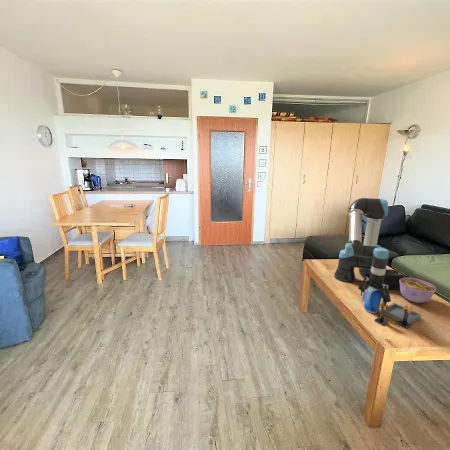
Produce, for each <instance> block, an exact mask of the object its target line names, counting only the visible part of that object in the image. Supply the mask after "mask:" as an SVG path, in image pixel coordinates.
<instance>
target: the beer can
mask: <svg viewBox="0 0 450 450" xmlns="http://www.w3.org/2000/svg"><path fill="white" fill-rule="evenodd" d="M365 291H366V294H365V300H364V303H363V308H364V310H365V311H366V312H368V313H370V314H377V313H379V312H380V308H379V307H380V304H381V302H382V297H381V295H380V292H379V291H378V289H376V288H374V287H372V286H369V287H368V288H367V289H366V290H365Z"/></svg>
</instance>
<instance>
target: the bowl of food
mask: <svg viewBox="0 0 450 450" xmlns="http://www.w3.org/2000/svg"><path fill="white" fill-rule="evenodd" d="M399 282H400V294H401V295H402V296H403V297H404V298H405V299H407V300H408V301H409V302H412V303H415V304H421V303H428V302H430V300H431V299H432V297H433V296H434V294H435V292H436V291H437V287H436V286H435V285H434V284H432V283H430V282H428V281H425V280H424V279H423V280H422V279H419V278H416V277H410V278H401V279H400V280H399Z"/></svg>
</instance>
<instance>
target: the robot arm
mask: <svg viewBox="0 0 450 450" xmlns="http://www.w3.org/2000/svg"><path fill="white" fill-rule="evenodd" d="M388 213H389V203H388V200H387V199H384V198H370V197H361V198H358V199H355V200H354V201H353V202H352V203H351V204H350V206H349V207H348V216H349V229H348V231H349V232H348V235H349V236H348V242H347V243H345V247H344V248H343V249H341V250H340V251H339V255H338V262H337V268H336V270H335V272H334V275H333V277H334V278H335V279H336V280H338V281H340V282H344V283H353V282H355V281H356V275H355V268H357V269H359V268H362V269H368V270H371V272H370V278H368V277H363V280H362V282H361V283H360V285H359V286H358V290H360V296H361V297H360V302H365V297H366V291H367V288H368V287H369V286H372V287H374V288H376V289H378V291H379V292H380V295H381V297H382V298H381V303H384V306H385V305H388V304H387V303H391V302H392V301H391V300H392V299H391V294H390V289H388V288H389V285H385V284H384V283H383V281H384V277H385V271H386V269H387V264H388V259H389V257H390V256H389V253H390V251H389V250H388V249H386V248H385V247H382V246H381V245H378V239H379V233H380V229H381V223H382V221H383V220H384V219H385V217H387V216H388ZM364 215H365V218H366V219H367V220H366V221H367V222H366V227H365V233H364V238H362V237H363V235H362V233H363V230H362V229H363V226H362V225H363V223H362V222H363V216H364ZM362 239H363V240H362ZM362 242H363V243H362ZM368 280H369V282H370V283H369V282H368ZM367 283H368V284H367ZM366 284H367V285H366ZM365 285H366V286H365ZM382 286H383V288H384V289H383V288H382ZM379 312H381V308H380V309H379Z"/></svg>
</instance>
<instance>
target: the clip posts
mask: <svg viewBox="0 0 450 450" xmlns="http://www.w3.org/2000/svg"><path fill="white" fill-rule="evenodd" d="M389 305H390V304H386V305H385V306H384V303H381V304H380V307H379V308H381V311H380V315H379V317H377V318H375V319H374V322H375V323H377V324H379V325H381V326H385V325H388V324H389V321H388V320H386V319H385V316H386V315H385V310H387V309H388V306H389ZM402 306H403V311H405V313H404V317H403V322H402V321H399V322H398V321H396V322H397V323H396V324H397V325H399V327H400V326H401V327H402V328H404V329H406V330H407V329H409V328H410V327H412V324H413V323H412V324H407V320H408V315H409V313H410V312H412V311H413V307H412V306H411V307H408V305H407V304H405V305H402ZM407 308H408V310H407Z"/></svg>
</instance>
